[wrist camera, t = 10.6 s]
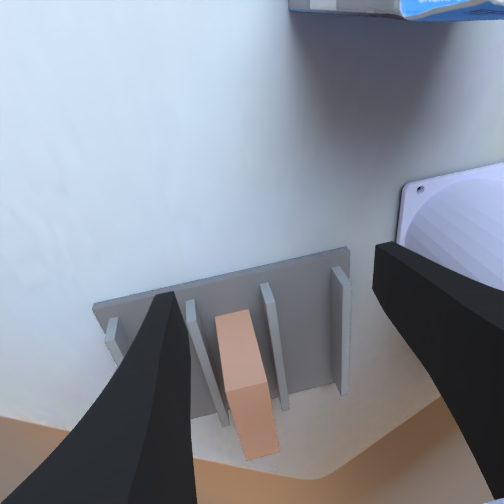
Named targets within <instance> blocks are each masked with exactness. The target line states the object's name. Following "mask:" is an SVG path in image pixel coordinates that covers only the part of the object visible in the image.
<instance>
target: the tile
mask: <svg viewBox="0 0 504 504" xmlns="http://www.w3.org/2000/svg"><path fill="white" fill-rule="evenodd" d="M215 322H216V329H217V336H218V343H219V350H220V358H221V365H222V372H223V379H224V386H225V393H226V396H227V399H228V402H229V406H230V409H231V412H232V416H233V419H234V422H235V425H236V429H237V432H238V435H239V439H240V442H241V445H242V448H243V452H244V455H245V458H246V461H248V460H251V459H255V458H259V457H263V456H266V455H270V454H274V453H278V452H280V447H279V442H278V436H277V431H276V425H275V420H274V415H273V409H272V404H271V398H270V393H269V387H268V382H267V378H266V374H265V370H264V366H263V363H262V359H261V355H260V351H259V347H258V343H257V339H256V336H255V332H254V328H253V324H252V320H251V316H250V312H249V309H246V310H242V311H238V312H233V313H229V314H225V315H221V316H216V317H215Z"/></svg>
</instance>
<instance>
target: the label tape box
mask: <svg viewBox="0 0 504 504" xmlns="http://www.w3.org/2000/svg"><path fill="white" fill-rule="evenodd" d="M289 9H290V10H292V11H301V12H316V13H330V14H339V15H350V16H367V17H384V18H393V19H400V20H409V21H423V22H425V21H472V20H497V19H504V0H289Z"/></svg>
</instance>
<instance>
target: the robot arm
mask: <svg viewBox="0 0 504 504" xmlns="http://www.w3.org/2000/svg"><path fill="white" fill-rule="evenodd" d="M420 186H421V187H420ZM418 187H420V189H419V190H418V191H416V190H417V188H418ZM372 289H373V291H374V293H375V295H376V297H377V299H378V301H379V303H380V305H381V306H382V308H383V310H384V312H385V313H386V315H387V316H388V318H389V319H390V320H391V322H392V323H393V325H394V326H395V327H396V329H397V330H398V331H399V333H400V334H401V336H402V337H403V338H404V340H405V341H406V342H407V344H408V345H409V346H410V348H411V349H412V351H413V352H414V353H415V355H416V356H417V357H418V359H419V360H420V361H421V363H422V364H423V366H424V367H425V369H426V370H427V372H428V373H429V375H430V377H431V378H432V380H433V382H434V384H435V385H436V387H437V389H438V390H439V392H440V394H441V396H442V397H443V399H444V401H445V403H446V404H447V406H448V408H449V410H450V411H451V413H452V415H453V417H454V419H455V421H456V423H457V424H458V426H459V428H460V430H461V432H462V434H463V436H464V438H465V440H466V442H467V444H468V445H469V448H470V450H471V452H472V453H473V455H474V457H475V459H476V462H477V464H478V466H479V468H480V470H481V472H482V474H483V476H484V478H485V480H486V483H487V485H488V487H489V489H490V491H491V493H492V495H493V497H494V501H491V502H487V503H484V504H504V162H502V163H498V164H493V165H488V166H484V167H479V168H474V169H470V170H465V171H460V172H456V173H451V174H446V175H441V176H437V177H432V178H427V179H423V180H418V181H413V182H410V183H407V184H406V185H405V186H404V188H403V190H402V197H401V205H400V214H399V223H398V231H397V240H396V243H395V242H392V241H391V242H387V243H382V244H378V245H376V246H375V260H374V273H373V286H372ZM190 413H191V354H190V344H189V336H188V330H187V328H186V325H185V322H184V319H183V316H182V313H181V310H180V308H179V305H178V302H177V299H176V296H175V293H174V291H170V292H165V293H161V294H156V295H155V296H154V298H153V300H152V302H151V305H150V307H149V309H148V312H147V314H146V316H145V318H144V320H143V322H142V325H141V327H140V329H139V331H138V333H137V335H136V337H135V338H134V340H133V342H132V344H131V346H130V348H129V350H128V351H127V353H126V355H125V357H124V358H123V360H122V362H121V363H120V365H119V367H118V369H117V370H116V372H115V373H114V375H113V376H112V378H111V379H110V381H109V383H108V384H107V385H106V387H105V388H104V390H103V391H102V393H101V394H100V395H99V397H98V398H97V399H96V401H95V402H94V403H93V405H92V406H91V407H90V409H89V410H88V411H87V413H86V414H85V415H84V416H83V418H82V419H81V420H80V421H79V423H78V424H77V425H76V426H75V427H74V429H73V430H72V431H71V432H70V433H69V435H67V437H66V438H65V439H64V440H63V441H62V442H61V443H60V445H59V446H58V447H57V448H56V449H55V450H54V451H53V452H52V453H51V454H50V455H49V457H47V459H46V460H45V461H44V462H43V463H42V464H41V465H40V466H39V467H38V468H37V469H36V470H35V471H34V472H33V473H32V474H31V475H29V476H28V477H27V479H26V480H24V481H23V482H22V483H21V484H20V485H19V486H18V487H17V488H16V489H15V490H14V491H13V492H12V493H11V494H10V495H9V496H8V497H7V498H6V499H5V500H3V502H1V504H197V497H196V487H195V476H194V466H193V454H192V443H191V424H190Z"/></svg>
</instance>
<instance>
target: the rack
mask: <svg viewBox="0 0 504 504" xmlns="http://www.w3.org/2000/svg"><path fill="white" fill-rule="evenodd" d="M349 263H350V251H349V250H348V249H347V247H344V248H339V249H335V250H330V251H326V252H321V253H317V254H312V255H308V256H303V257H299V258H295V259H290V260H286V261H281V262H277V263H272V264H268V265H263V266H259V267H255V268H250V269H246V270H241V271H237V272H232V273H228V274H223V275H219V276H214V277H210V278H206V279H201V280H197V281H192V282H188V283H183V284H179V285H174V286H170V287H165V288H161V289H157V290H152V291H148V292H143V293H139V294H134V295H130V296H125V297H121V298H117V299H112V300H108V301H103V302H99V303H94V305H93V308H92V311H93V312H94V314H95V316H96V318H97V320H98V322H99V323H100V325H101V327H102V329H103V331H104V333H105V334H106V336H105V340H104V342H105V344H106V346H107V348H108V350H109V351H110V353H111V355H112V357H113V358H114V360H115V362H116V364H117V366H118V367H119V365H120V363H121V362H122V360H123V358H124V357H125V355H126V353H127V351H128V350H129V348H130V346H131V344H132V342H133V340H134V338H135V337H136V335H137V333H138V331H139V329H140V327H141V325H142V322H143V320H144V318H145V316H146V314H147V312H148V309H149V307H150V305H151V302H152V300H153V298H154V296H155V295H156V294H161V293H165V292H170V291H174V293H175V296H176V299H177V302H178V305H179V308H180V310H181V313H182V316H183V319H184V322H185V325H186V328H187V330H188V336H189V344H190V354H191V413H190V419H193V418H197V417H201V416H205V415H209V414H212V413H216V412H217V413H218V416H219V418H220V421H221V424H222V427H224V426H228V425H230V423H229V416H228V409H230V406H229V402H228V399H227V396H226V393H225V386H224V379H223V372H222V365H221V358H220V350H219V343H218V336H217V329H216V322H215V317H216V316H221V315H225V314H229V313H233V312H238V311H242V310H246V309H249V312H250V316H251V320H252V324H253V328H254V332H255V336H256V339H257V343H258V347H259V351H260V355H261V359H262V363H263V366H264V370H265V374H266V378H267V382H268V387H269V393H270V398H271V399H272V398H276V397H279V400H280V404H281V407H282V411H286V410H290V408H289V400H288V394H291V393H295V392H299V391H303V390H307V389H311V388H315V387H319V386H323V385H327V384H331V383H336V385H337V388H338V390H339V392H340V394H341V396H344V395H348V388H349V357H350V325H351V294H352V284H351V282H350V281H349Z"/></svg>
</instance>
